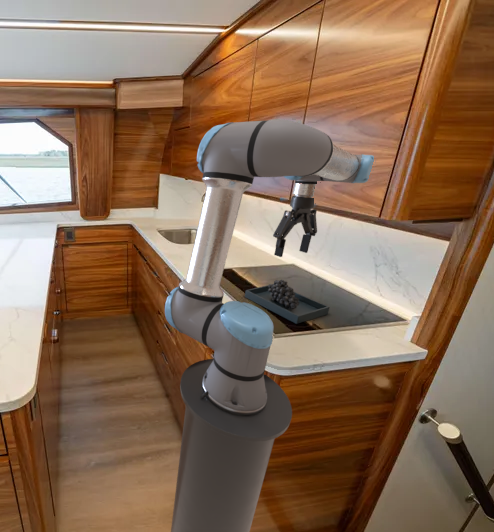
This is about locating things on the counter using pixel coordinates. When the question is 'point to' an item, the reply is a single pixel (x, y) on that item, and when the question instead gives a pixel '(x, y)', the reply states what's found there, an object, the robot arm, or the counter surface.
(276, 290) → the fruit
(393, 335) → the counter surface
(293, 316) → the tray
